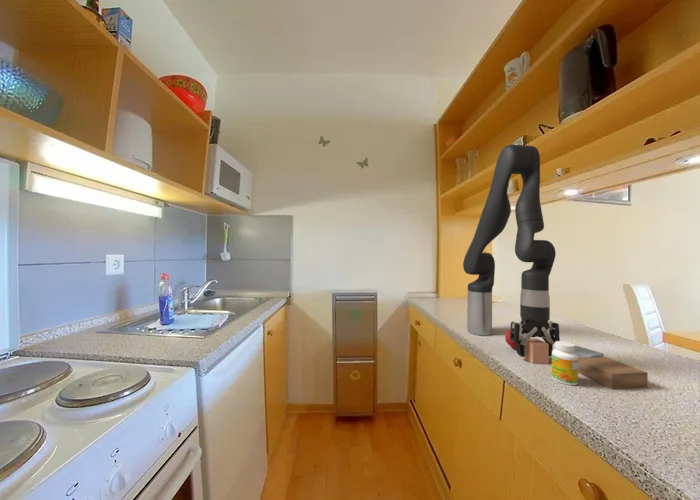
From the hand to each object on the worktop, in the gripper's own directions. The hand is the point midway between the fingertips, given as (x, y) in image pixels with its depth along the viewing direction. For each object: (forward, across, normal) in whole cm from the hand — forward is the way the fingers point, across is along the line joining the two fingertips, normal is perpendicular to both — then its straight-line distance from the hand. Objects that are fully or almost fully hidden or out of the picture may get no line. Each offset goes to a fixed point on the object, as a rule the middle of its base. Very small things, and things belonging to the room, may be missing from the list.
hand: (534, 355), depth 82 cm
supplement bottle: (+2, +2, +13) cm, 13 cm away
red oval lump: (+2, 0, -9) cm, 9 cm away
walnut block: (+2, -11, +12) cm, 16 cm away
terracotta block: (+1, 0, 0) cm, 1 cm away
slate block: (+2, -13, +3) cm, 13 cm away
